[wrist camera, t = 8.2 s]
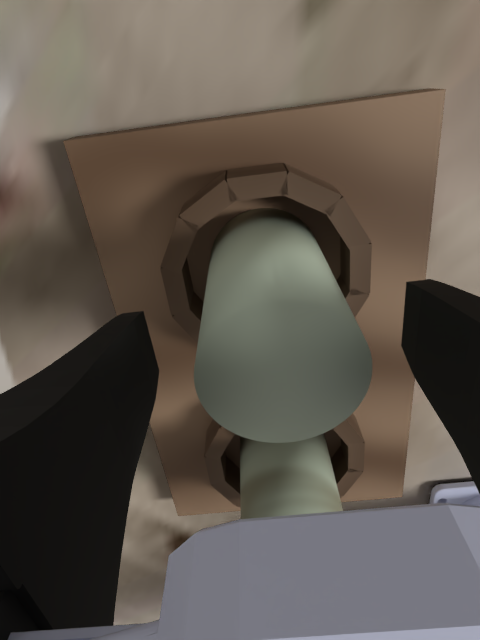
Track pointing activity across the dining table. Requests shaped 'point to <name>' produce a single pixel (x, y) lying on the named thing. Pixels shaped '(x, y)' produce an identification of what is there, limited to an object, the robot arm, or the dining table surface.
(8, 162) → the dining table surface
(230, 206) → the peg stand
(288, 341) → the loose peg
